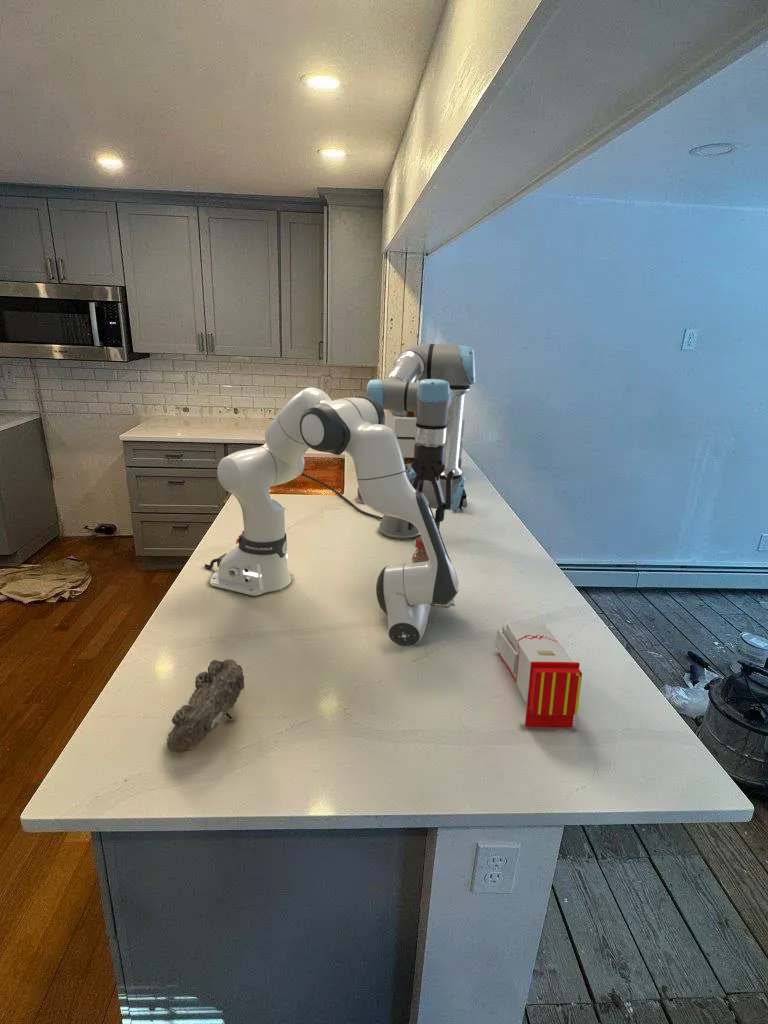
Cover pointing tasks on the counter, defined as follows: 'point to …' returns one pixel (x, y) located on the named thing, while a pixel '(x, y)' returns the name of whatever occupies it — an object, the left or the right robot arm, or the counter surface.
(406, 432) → the slatted wooden crate
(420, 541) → the cap
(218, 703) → the fossil
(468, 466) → the counter surface
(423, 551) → the bottle
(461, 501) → the figurine character
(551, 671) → the toy
